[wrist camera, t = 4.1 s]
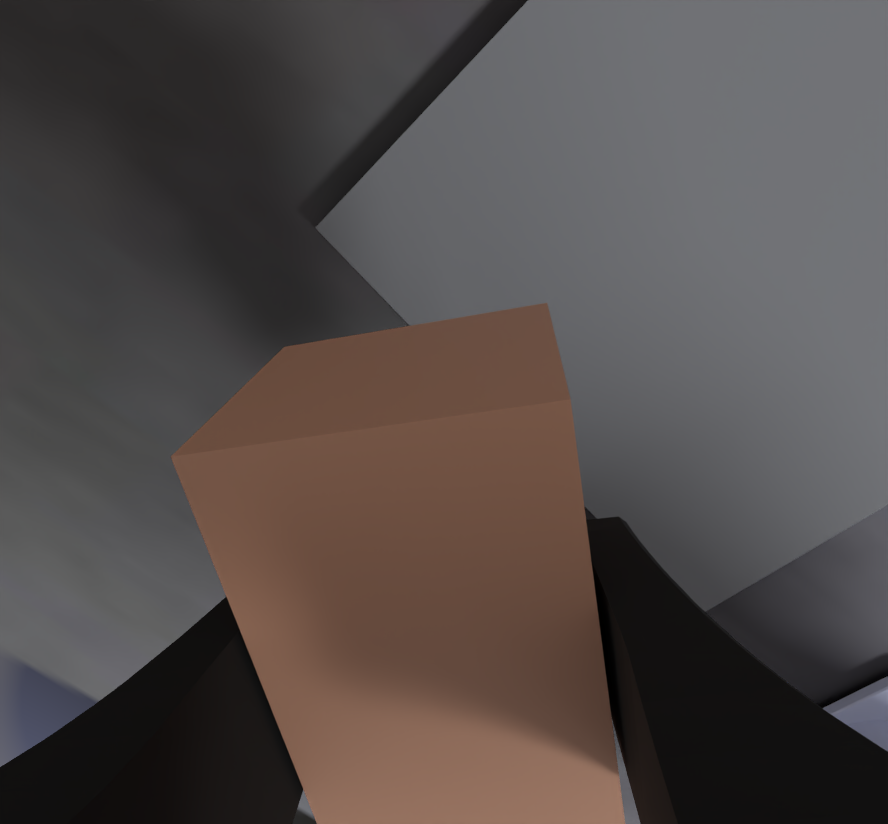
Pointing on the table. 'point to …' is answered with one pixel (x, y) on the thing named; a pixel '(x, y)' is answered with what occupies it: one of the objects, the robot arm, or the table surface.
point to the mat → (670, 256)
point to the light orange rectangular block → (416, 572)
